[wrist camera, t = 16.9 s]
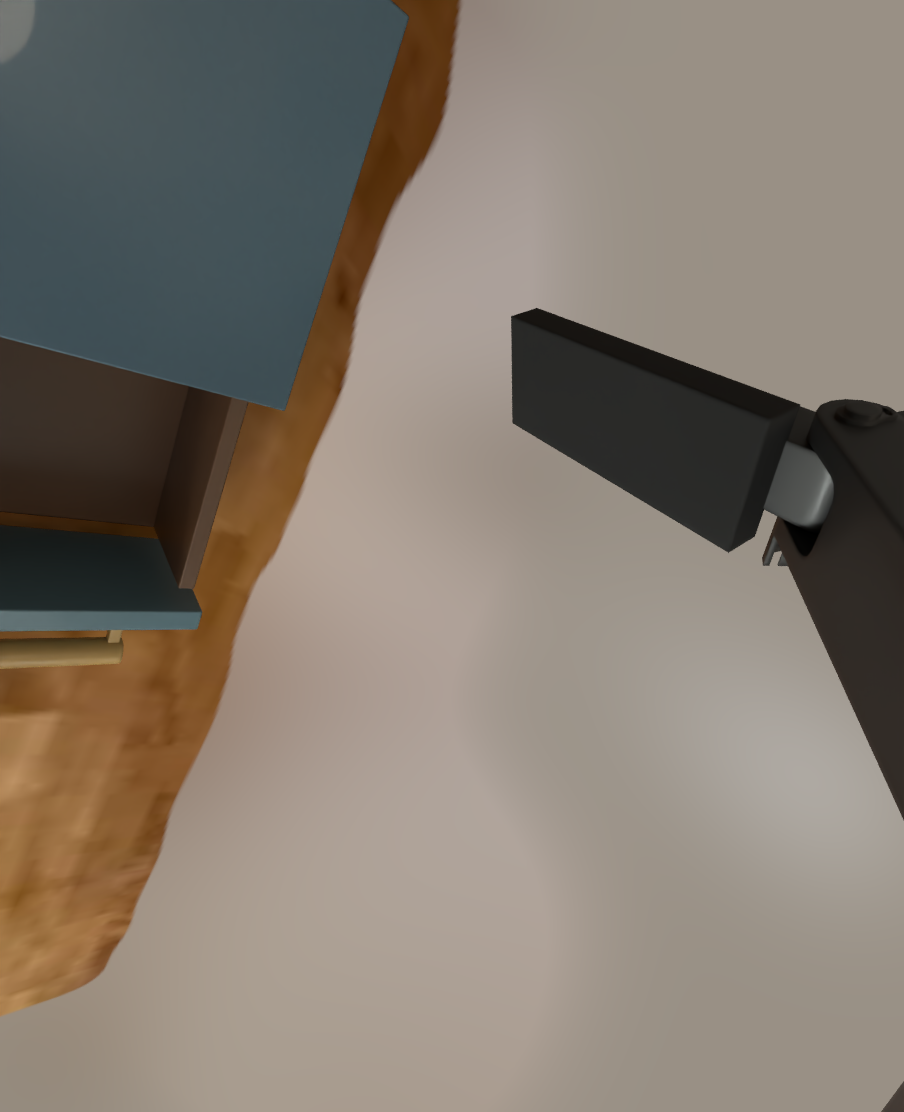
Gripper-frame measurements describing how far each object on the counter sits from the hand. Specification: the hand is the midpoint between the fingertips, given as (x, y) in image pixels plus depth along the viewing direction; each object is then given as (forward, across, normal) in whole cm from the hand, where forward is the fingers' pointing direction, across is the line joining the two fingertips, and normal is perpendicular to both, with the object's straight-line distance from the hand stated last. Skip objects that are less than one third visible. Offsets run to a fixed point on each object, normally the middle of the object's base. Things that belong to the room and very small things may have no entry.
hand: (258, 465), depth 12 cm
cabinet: (+24, +3, +4) cm, 25 cm away
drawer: (+23, -6, -9) cm, 25 cm away
